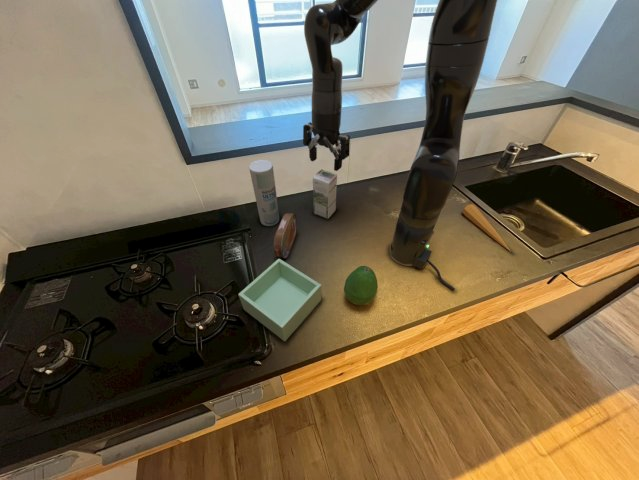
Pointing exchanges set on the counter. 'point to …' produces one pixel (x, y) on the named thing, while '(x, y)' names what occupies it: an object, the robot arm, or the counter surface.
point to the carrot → (482, 223)
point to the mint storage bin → (281, 298)
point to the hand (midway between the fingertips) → (325, 164)
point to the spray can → (265, 191)
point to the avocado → (361, 286)
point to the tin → (285, 235)
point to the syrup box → (324, 193)
